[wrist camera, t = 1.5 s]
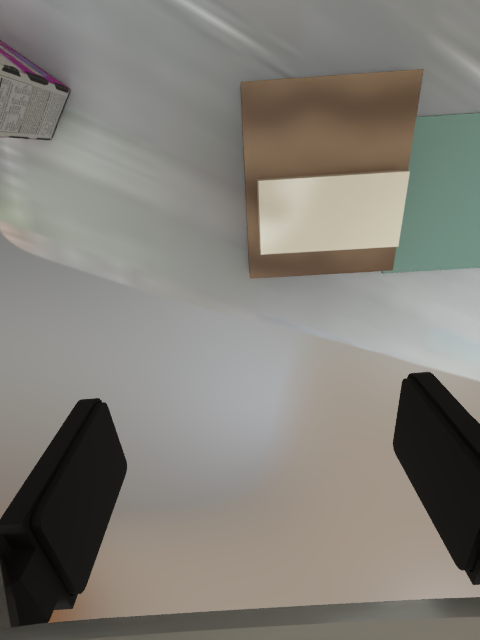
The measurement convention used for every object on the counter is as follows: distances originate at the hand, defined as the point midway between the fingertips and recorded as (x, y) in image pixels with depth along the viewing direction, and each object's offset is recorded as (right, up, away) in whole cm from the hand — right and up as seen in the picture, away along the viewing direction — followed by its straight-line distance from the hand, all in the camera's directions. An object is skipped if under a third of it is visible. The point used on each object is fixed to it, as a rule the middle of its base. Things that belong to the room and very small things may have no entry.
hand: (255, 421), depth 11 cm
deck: (+7, +16, +21) cm, 27 cm away
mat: (+22, +15, +21) cm, 34 cm away
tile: (+7, +13, +19) cm, 24 cm away
